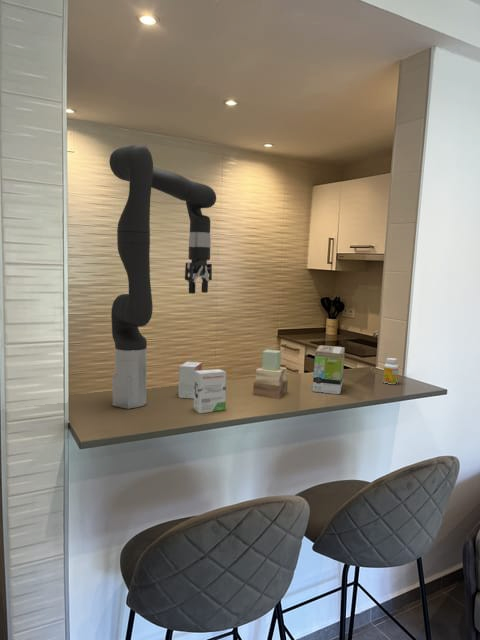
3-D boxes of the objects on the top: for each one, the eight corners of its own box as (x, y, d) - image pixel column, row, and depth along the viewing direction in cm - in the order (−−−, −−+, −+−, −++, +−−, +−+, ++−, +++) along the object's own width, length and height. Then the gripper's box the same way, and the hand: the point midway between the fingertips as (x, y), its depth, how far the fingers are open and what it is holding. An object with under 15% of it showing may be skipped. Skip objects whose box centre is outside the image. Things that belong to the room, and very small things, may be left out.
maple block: (278, 385, 149) (278, 372, 148) (255, 382, 152) (256, 369, 152) (285, 380, 156) (286, 367, 156) (264, 377, 159) (264, 365, 159)
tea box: (341, 395, 156) (343, 352, 155) (311, 392, 159) (314, 350, 157) (342, 384, 171) (345, 346, 169) (316, 382, 173) (318, 344, 172)
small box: (194, 399, 145) (195, 367, 144) (177, 397, 146) (178, 365, 145) (201, 392, 153) (202, 362, 151) (185, 391, 154) (186, 361, 153)
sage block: (276, 370, 150) (277, 353, 150) (262, 369, 152) (262, 351, 151) (280, 368, 155) (281, 350, 154) (266, 366, 157) (267, 349, 156)
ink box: (219, 405, 139) (220, 368, 138) (226, 410, 134) (227, 371, 133) (192, 408, 135) (193, 369, 134) (198, 413, 131) (199, 373, 129)
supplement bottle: (380, 382, 177) (381, 357, 176) (391, 381, 179) (393, 357, 178) (388, 385, 172) (390, 360, 171) (400, 384, 174) (402, 360, 173)
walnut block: (278, 399, 149) (278, 386, 148) (253, 395, 152) (253, 382, 152) (287, 393, 157) (287, 380, 156) (263, 389, 161) (263, 377, 160)
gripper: (200, 247, 165) (199, 291, 167) (179, 244, 152) (178, 293, 154) (218, 247, 162) (217, 293, 163) (198, 245, 149) (197, 294, 151)
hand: (198, 293), depth 159 cm, fingers open, 8 cm apart
